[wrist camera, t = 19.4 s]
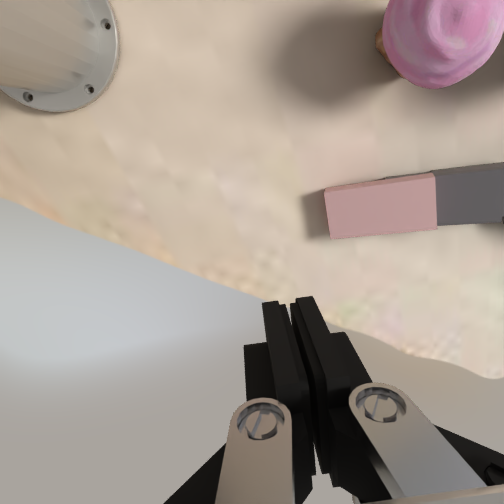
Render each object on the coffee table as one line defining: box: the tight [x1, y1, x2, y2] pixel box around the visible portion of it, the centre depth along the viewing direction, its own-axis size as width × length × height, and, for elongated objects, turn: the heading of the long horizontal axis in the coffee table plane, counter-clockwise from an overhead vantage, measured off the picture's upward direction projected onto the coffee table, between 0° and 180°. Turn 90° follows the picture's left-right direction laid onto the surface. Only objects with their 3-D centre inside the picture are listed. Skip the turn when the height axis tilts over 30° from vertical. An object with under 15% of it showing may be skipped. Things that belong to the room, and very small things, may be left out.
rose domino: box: [324, 173, 437, 239], centre depth 36 cm, size 2×5×10 cm
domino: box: [386, 165, 504, 226], centre depth 36 cm, size 2×5×10 cm
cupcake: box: [375, 0, 504, 89], centre depth 29 cm, size 9×9×10 cm
